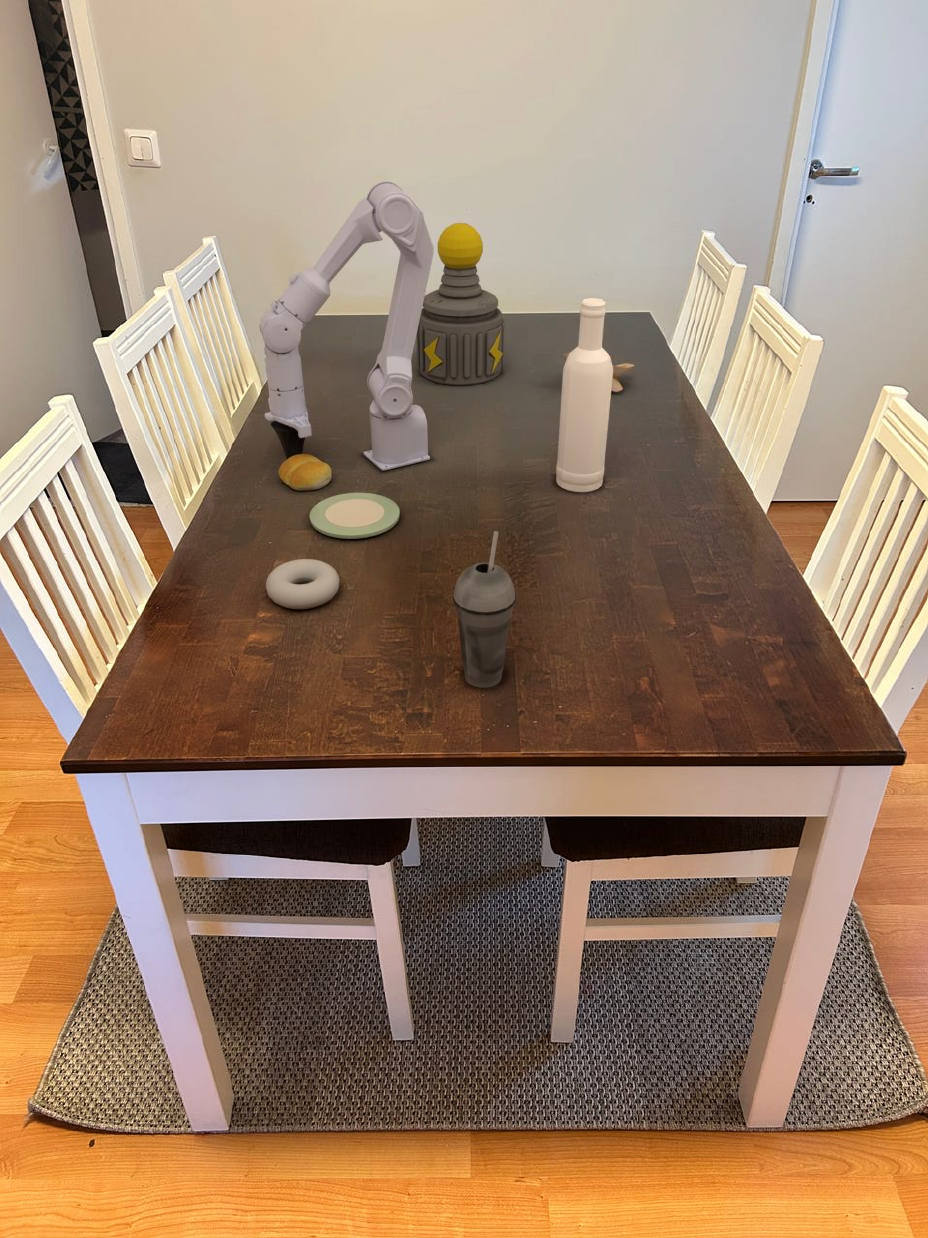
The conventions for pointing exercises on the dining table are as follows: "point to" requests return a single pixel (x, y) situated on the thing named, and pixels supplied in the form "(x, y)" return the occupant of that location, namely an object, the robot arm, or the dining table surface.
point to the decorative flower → (614, 373)
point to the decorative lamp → (460, 317)
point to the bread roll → (305, 472)
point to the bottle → (585, 405)
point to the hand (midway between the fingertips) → (294, 461)
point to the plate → (354, 515)
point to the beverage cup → (484, 619)
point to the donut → (302, 596)
